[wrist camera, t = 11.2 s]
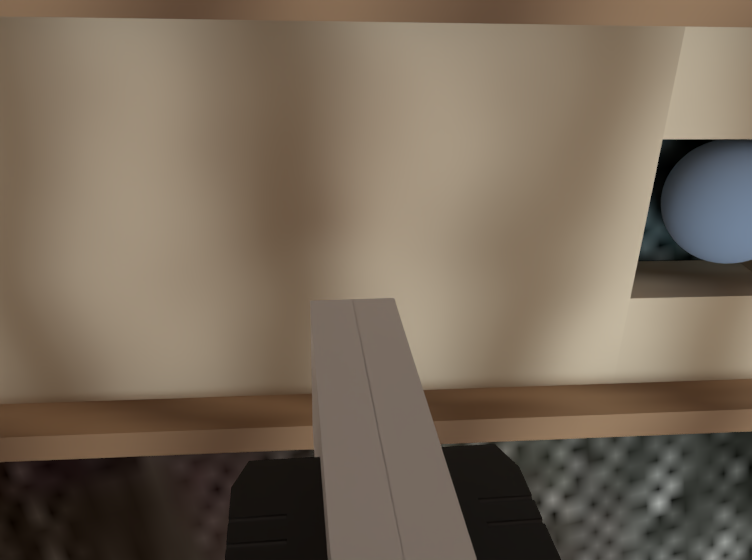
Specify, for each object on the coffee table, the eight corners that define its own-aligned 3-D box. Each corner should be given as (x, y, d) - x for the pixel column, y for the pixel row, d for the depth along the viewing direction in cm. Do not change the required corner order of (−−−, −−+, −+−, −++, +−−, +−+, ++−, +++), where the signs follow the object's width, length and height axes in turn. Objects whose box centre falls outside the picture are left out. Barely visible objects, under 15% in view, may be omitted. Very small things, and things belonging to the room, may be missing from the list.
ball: (766, 242, 22) (647, 225, 23) (802, 131, 20) (672, 117, 21) (789, 294, 19) (651, 273, 20) (833, 169, 17) (680, 151, 18)
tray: (-63, 381, 22) (-134, 467, 19) (-188, -41, 17) (-320, -34, 13) (836, 353, 25) (926, 423, 21) (970, -17, 20) (1118, -5, 16)
